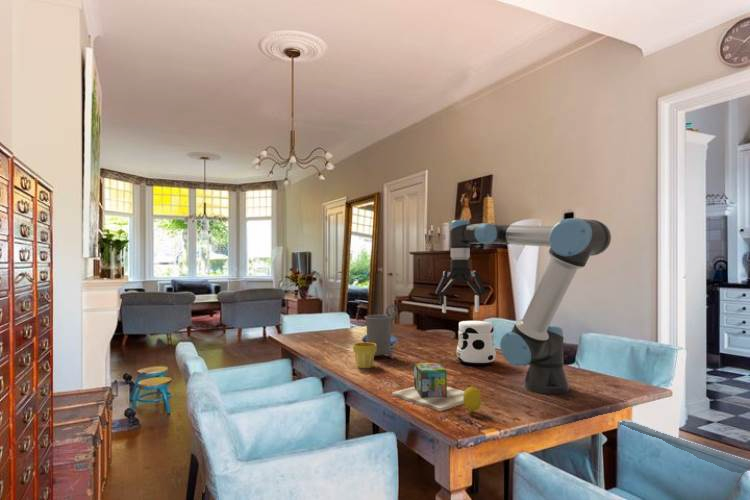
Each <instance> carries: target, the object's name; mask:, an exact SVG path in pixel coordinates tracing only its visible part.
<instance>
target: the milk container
mask: <svg viewBox="0 0 750 500" xmlns="http://www.w3.org/2000/svg"><path fill="white" fill-rule="evenodd" d="M494 329H495V327H494V324H493V322H490V321H485V320H462V321H459V322H458V331H457V333H458V342H457V346H456V357H457V359H458V361H459V362H461V363H464V364H466V365H474V366H476V365H477V366H482V365H483V366H484V365H489V364H493V363H494V361H495V360H496V356H497V355H496V354H497V353H496V347H495V343H494V333H495V332H494Z"/></svg>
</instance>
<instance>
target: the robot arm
mask: <svg viewBox="0 0 750 500" xmlns="http://www.w3.org/2000/svg"><path fill="white" fill-rule="evenodd" d="M449 233H450V236H449V237H450V258H451V259H450V271H448V270H444V271H442V277H441V279H440V281H439V283H438V286H437V287H436V290H435V292H434V293H435V295H438V296H439V304H440V305H442V306H441V308H442V310H441V312H442V313H443V314H446V313H447V296H446V293H448V291H449V290H450V288H451V287H452V286H453V285H454V284H455V283H466V284H467V285H468V286H469V287H470V288H471V290H473V292H474V293H475V295H474V312H476V313H479V312H480V304H482V296H483V295H485V294H486V293H487V292H486V290H485V287H484V286H483V283H482V281H481V279H480V277H479V273H478V271H477V270H472V271H471V260H470V258H471V253H470V252H471V250H470V248H471V247H470V245H471V244H472V245H473V244H490V245H493V244H494V245H496V244H497V245H515V246H516V245H517V246H534V247H547V248H548V247H550V248H549V250H548V254H549V257H550V258H549V259H550V260H549V261H548V263H547V266H546V268H545V270H544V273H543V275H542V276H541V279H540V281H539V283H538V285H537V287H536V290H535V291H534V294H533V296H532V298H531V300H530V302H529V304H528V306H527V309H526V311H525V313H524V315H523V317H522V319H521V318H520V319H517V320H516V321H515V323H514V326H513V327H512V330H511V331H510V332H509V331H508V332H506V333H505V334H504V335H503V336H502V337H501V339H500V344H499V346H500V351H501V353H502V357H503V359H504V360H505V361H506V362H508V363H509V364H510V365H512V366H514V367H527V366H528V370H527V372H526V375H525V378H524V388H525V389H527V390H528V391H531V392H535V393H540V394H548V395H559V394H560V395H561V394H566V393H568V392H569V391H570V384H569V381H568V377H567V375H566V374H567V373H566V372H565V369H564V331H563V329H562V327H560V326H557V325H551V323H552V321H553V319H554V317H555V314H556V313H557V311H558V309H559V307H560V305H561V303H562V301H563V299H564V297H565V295H566V293H567V291H568V290H569V289H568V288H569V287H570V285H571V283H572V280H573V279H574V278H575V275H576V274H577V271H578V270H579V269H583V268H584V267H585V266H586V264H587V262H588V260H589V258H590V257H591V256H597V255H600V254H603V253H604V252H605V251H606V250H607V249H608V248H609V247H610V245H611V241H612V234H611V231H610V229H609V227H608V226H607V224H604V223H603V222H601V221H599V220H595V219H585V218H579V217H572V218H570V217H569V218H565V219H562V220H559V221H558V222H557V223H555V225H515V224H513V225H512V224H493V223H489V222H482V223H474V224H473V223H472V224H470V221H469V220H467V219H455V220H452V221H450V229H449ZM449 276H450V279H449V281H448V282H447V284H446V285H445V283H446V281H447V279H448V277H449ZM470 277H473V280H474V282H475V284H474V282H473V281H472V279H470ZM444 285H445V286H444Z"/></svg>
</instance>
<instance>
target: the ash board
mask: <svg viewBox="0 0 750 500" xmlns="http://www.w3.org/2000/svg"><path fill="white" fill-rule="evenodd" d="M464 392H465V390H461V389H459V388H458V389H457V388H454V387H450V386H447V396H443V397H425V398H421V396H420V395H419V393H418V392H417V390H416V389H415V388H414V386H411V387H407V388H403V389H400V390H396V391H392V392H391V395H392V396H393V397H396V398H398V399H402V400H405V401H407V402H411V403H414V404H417V405H420V406H423V407H426V408H430V409H432V410H435V411H438V412H443V411H445V410H446V411H447V410H448V409H452V408H454V407H458V406H461V405H464V401H463V396H464Z"/></svg>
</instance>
